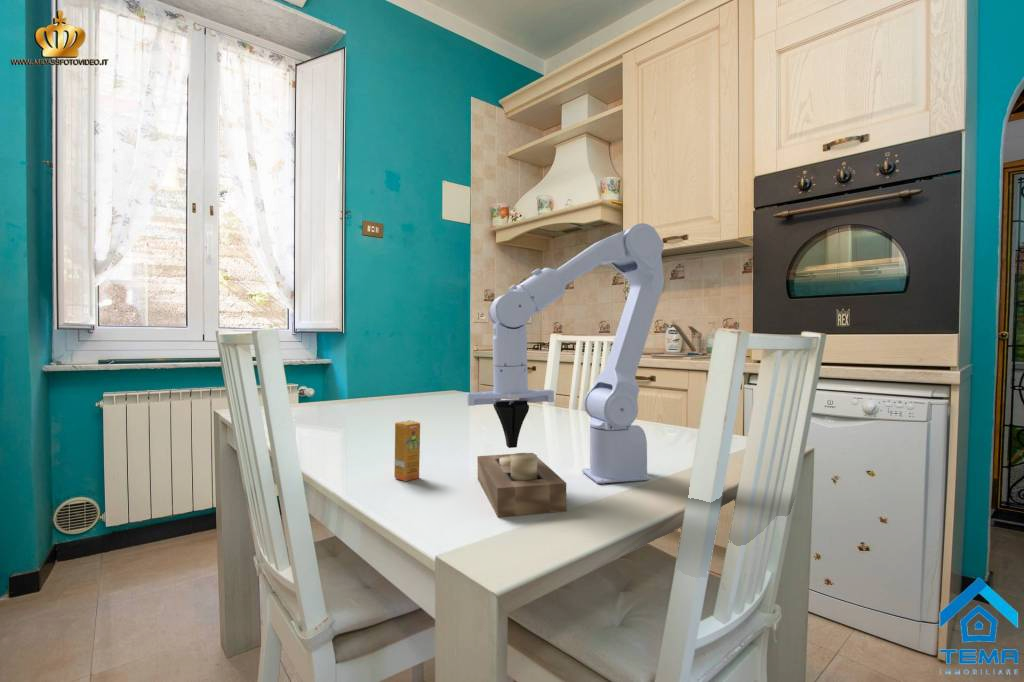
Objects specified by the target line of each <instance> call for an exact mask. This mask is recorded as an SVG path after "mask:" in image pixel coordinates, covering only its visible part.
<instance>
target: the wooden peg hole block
mask: <svg viewBox="0 0 1024 682" xmlns="http://www.w3.org/2000/svg"><path fill="white" fill-rule="evenodd" d="M531 453H532V454H535V453H534V452H531ZM512 454H513V453H507V454H492V455H491V454H490V455H477V480H478V483H479V484H480V486H481V488H482V490H483V492H484V494H485V495H486V498H487V500H488V502H489V503H490V504H491V508H492V509H493V511H494V514H495V515H496V517H497V518H499V517H501V518H502V517H503V518H504V517H513V516H524V515H525V516H526V515H536V514H546V513H558V512H560V513H561V512H567V511H568V510H567V508H568V507H567V499H568V498H567V482H566V481H565V480H564V479H563V478H561V477H560V476H559V475H558V474H557V473H556V472H555V471H554V470H553V469H552V468H551V467H550V466H548V465H547V464H546V463H545V462H544V461H543V460H541V459H540V458H539V457H538V456H537V479H534V480H520V481H512V479H511V465H500V464H499V459H500V458H502V457H506V456H511V455H512Z"/></svg>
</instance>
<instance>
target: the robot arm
mask: <svg viewBox="0 0 1024 682" xmlns="http://www.w3.org/2000/svg"><path fill="white" fill-rule="evenodd" d="M664 248H665V243H664V242H663V240H662V238H661V237H660V235H659V233H658V231H657V230H656V229H655V228H654V227H653V226H652V225H651V224H648V223H642V222H641V223H636V224H634V225H632V226H630V228H628V229H624V230H622V231H620V232H617V233H615V234H613V235H610V236H608V237H605V238H603V239H601V240H599V241H597V242H594V243H593V244H591V245H589V246H588V247H587V248H585V249H584V250H583V251H581V252H579V253H578V254H576V256H574V257H572V258H571V259H569V260H568V261H566V262H565V263H563V264H562V265H561V266H560V267H558V268H557V269H554V268H550V267H544V268H542V269H541V268H540V267H539V268H536V269H535V270H533V271H531V275H532V276H529V278H527V279H525V280H524V281H522V282H520V283H519V284H518V285H516V284H513V285H511V286H510V287H509V288H508V289H509V291H507V292H506V293H505V294H502V295H499V296H498V297H496V298H494V300H493V302H492V303H491V305H490V308H489V311H488V318H489V320H490V322H491V324H493V325H492V327H493V330H492V333H493V338H492V365H493V372H492V373H493V390H489V391H488V390H486V391H476V392H475V391H474V392H467V393H466V405H467V406H469V407H470V406H471V407H472V406H479V405H480V406H481V405H493V408H494V411H495V413H496V414H497V415H496V416H497V417H498V419H499V421H500V424H501V427H502V431H503V433H504V438H505V444H506V447H507V448H508V449H514V448H515V449H517V447H518V442H519V435H520V433H521V429H522V426H523V424H524V421H525V418H526V417H527V415H528V413H529V410H530V405H529V403H546V402H547V403H554V402H555V390H553V389H528V388H529V387H528V385H529V384H528V338H527V323H529V321H530V319H531V317H532V316H535V315H536V314H538V313H540V312H542V310H544V309H546V308H547V307H548V306H550V305H552V304H553V303H554V302H556V301H558V300H560V299H561V298H562V297H564V295H565V292H566V288H567V285H569V284H570V283H572V282H573V281H575V280H576V279H578V278H580V277H582V276H583V275H584V274H587V273H588V272H589V271H592V270H593V269H594V268H597V267H598V266H600V265H602V266H603V265H604V266H608V265H612V266H613V267H614V268H615V269H616V270H617V271H618V272H619V273H620V274H621V275H623V277H624V278H625V279H626V281H627V284H628V285H629V286H630V289H629V292H628V295H627V298H626V301H625V304H624V308H623V311H622V314H621V317H620V320H619V323H618V326H617V330H616V334H615V337H614V339H613V343H612V345H611V349H610V352H609V355H608V358H607V362H606V363H605V364H606V365H605V368H604V369H603V370H602V371H601V372H600V373H599V375H598V376H597V377H596V378H595V382H594V384H593V386H592V387H591V389H589V391H587V392H586V394H585V396H584V399H583V407H584V410H585V412H586V414H587V415H588V416H589V417H590V421H589V468H582V470H581V472H582V473H584V474H585V475H586V476H587V477H588V478H590V479H591V480H593V481H595V482H596V484H608V483H609V484H610V483H623V482H634V481H635V482H637V481H648V480H650V476H649V475H648V442H647V437H646V433H645V430H644V429H643V428H642V426H640V425H637V424H636V425H635V424H634V425H632V424H633V423H634V422H635V420H636V418H637V417H638V413H639V405H638V404H639V403H638V397H639V396H638V395H639V393H640V387H639V384H638V382H637V380H636V376H637V375H636V374H637V371H638V368H639V365H640V361H641V359H642V355H643V352H644V348H645V347H646V342H647V340H648V336H649V333H650V330H651V326H652V324H653V319H654V317H655V314H656V311H657V307H658V304H659V301H660V298H661V294H662V291H663V288H664V284H665V277H664V267H663V259H662V255H663V254H662V253H663V251H664Z"/></svg>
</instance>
